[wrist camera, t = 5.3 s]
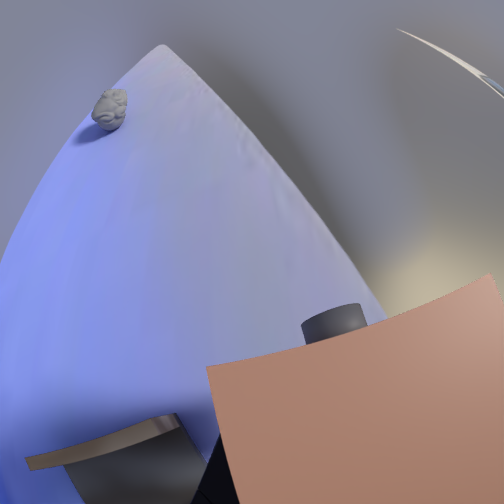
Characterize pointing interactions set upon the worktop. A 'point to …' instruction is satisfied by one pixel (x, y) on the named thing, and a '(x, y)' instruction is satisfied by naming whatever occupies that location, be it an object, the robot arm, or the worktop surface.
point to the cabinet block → (373, 408)
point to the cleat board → (132, 464)
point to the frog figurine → (110, 109)
